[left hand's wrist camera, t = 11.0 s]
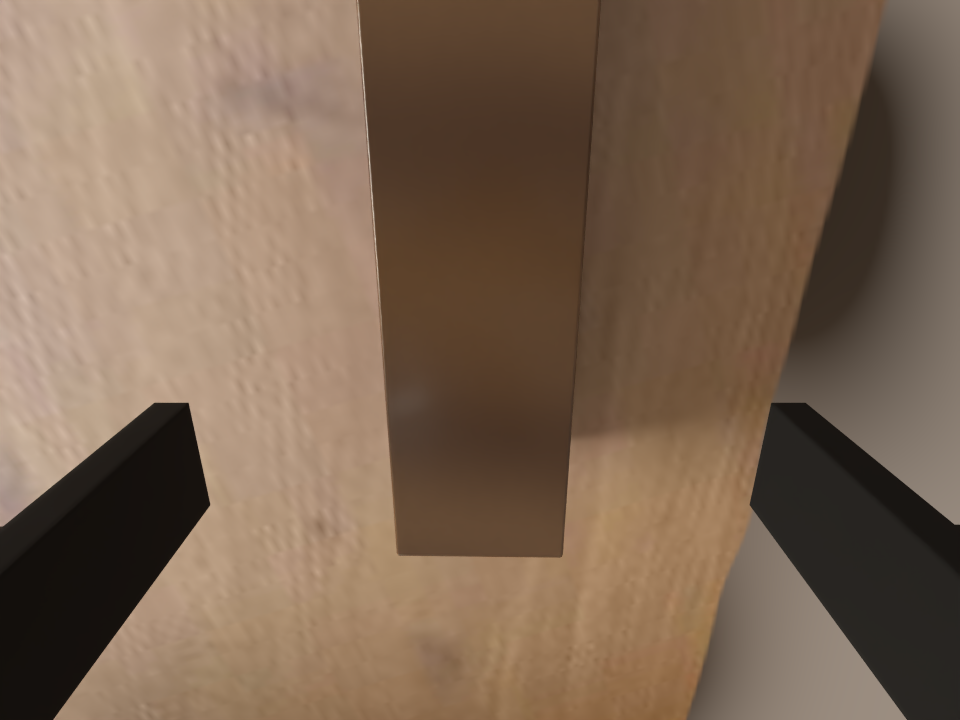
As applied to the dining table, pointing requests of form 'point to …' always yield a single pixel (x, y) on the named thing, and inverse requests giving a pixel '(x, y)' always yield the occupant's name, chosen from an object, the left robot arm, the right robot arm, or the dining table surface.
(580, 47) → the post
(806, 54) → the dining table surface
